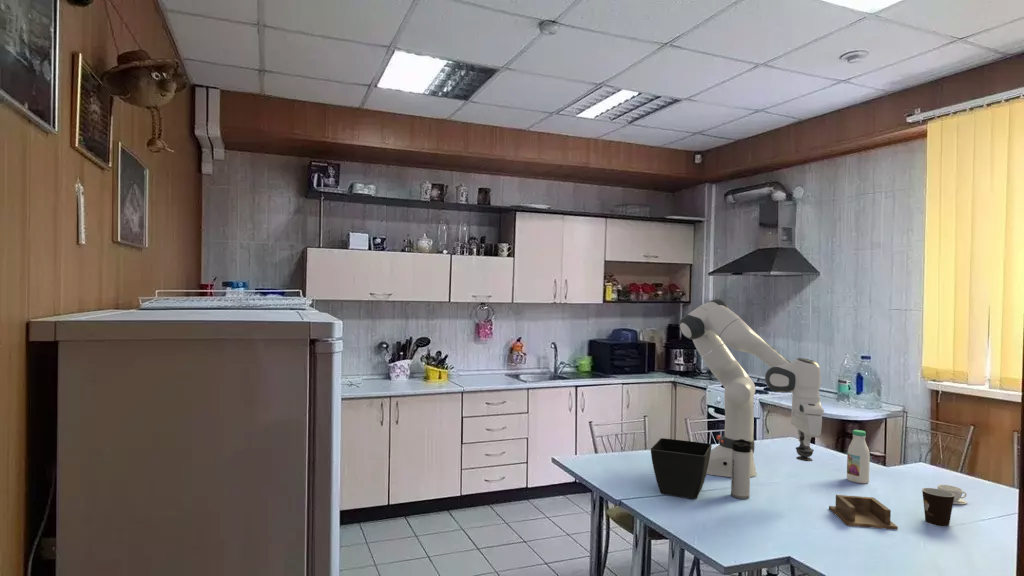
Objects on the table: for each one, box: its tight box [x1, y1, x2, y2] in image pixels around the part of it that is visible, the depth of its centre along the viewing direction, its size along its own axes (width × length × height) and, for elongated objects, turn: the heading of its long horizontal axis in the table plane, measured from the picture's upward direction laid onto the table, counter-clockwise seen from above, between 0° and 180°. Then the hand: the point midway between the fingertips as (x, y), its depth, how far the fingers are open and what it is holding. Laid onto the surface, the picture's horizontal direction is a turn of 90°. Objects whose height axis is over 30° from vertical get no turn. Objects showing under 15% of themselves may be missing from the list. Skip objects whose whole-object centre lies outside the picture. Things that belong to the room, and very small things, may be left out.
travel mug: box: [730, 439, 751, 500], centre depth 216 cm, size 6×7×20 cm
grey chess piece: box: [795, 431, 815, 462], centre depth 212 cm, size 6×6×12 cm
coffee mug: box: [921, 487, 954, 528], centre depth 198 cm, size 12×9×10 cm
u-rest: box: [828, 494, 899, 530], centre depth 198 cm, size 15×15×6 cm
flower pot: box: [650, 437, 713, 500], centre depth 219 cm, size 19×19×17 cm
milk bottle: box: [846, 429, 871, 484], centre depth 239 cm, size 8×8×20 cm
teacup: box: [937, 484, 968, 505], centre depth 219 cm, size 10×10×5 cm
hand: (804, 443), depth 212 cm, fingers closed on grey chess piece, 3 cm apart
